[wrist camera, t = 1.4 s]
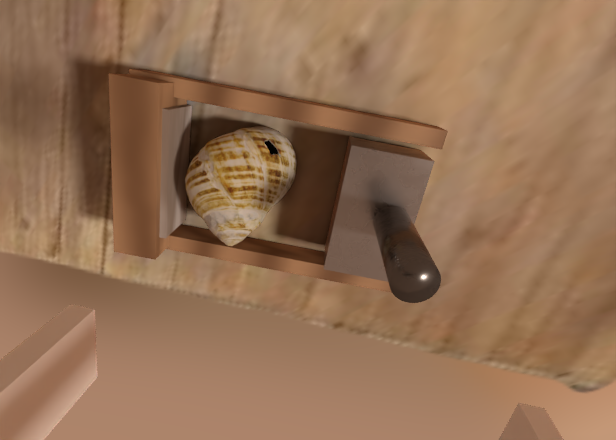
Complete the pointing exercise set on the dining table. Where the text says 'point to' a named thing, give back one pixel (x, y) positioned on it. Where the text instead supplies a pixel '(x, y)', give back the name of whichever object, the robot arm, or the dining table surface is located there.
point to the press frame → (175, 162)
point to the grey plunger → (382, 219)
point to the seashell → (240, 180)
